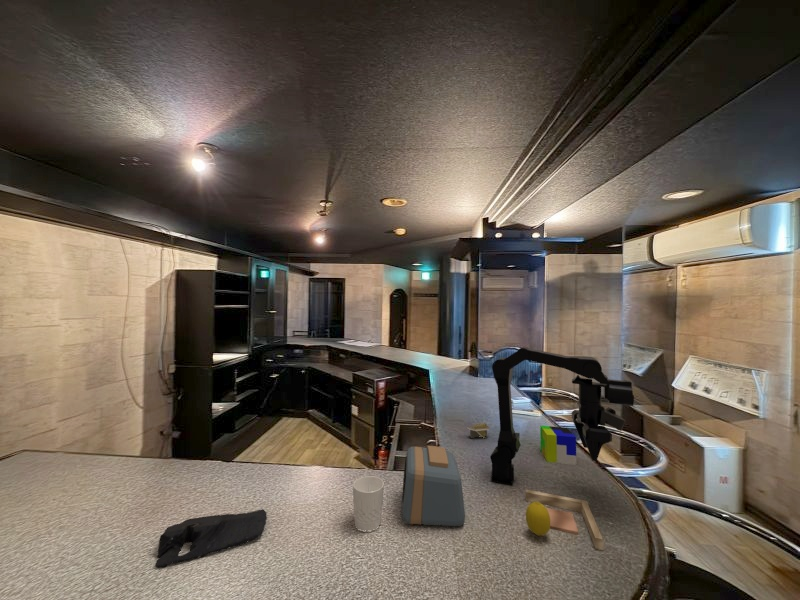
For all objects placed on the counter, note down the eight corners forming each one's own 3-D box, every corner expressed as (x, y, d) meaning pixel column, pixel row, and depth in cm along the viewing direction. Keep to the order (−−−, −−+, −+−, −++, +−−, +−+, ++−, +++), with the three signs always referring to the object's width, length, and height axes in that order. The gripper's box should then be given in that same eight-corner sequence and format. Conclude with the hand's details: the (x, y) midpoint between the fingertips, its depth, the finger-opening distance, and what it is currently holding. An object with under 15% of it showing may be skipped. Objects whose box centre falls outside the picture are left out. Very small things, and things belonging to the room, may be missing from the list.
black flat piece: (262, 550, 70) (263, 528, 70) (146, 574, 63) (147, 550, 64) (268, 510, 85) (269, 492, 85) (174, 526, 78) (175, 506, 78)
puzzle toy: (576, 465, 113) (576, 437, 114) (547, 462, 115) (546, 434, 116) (567, 453, 123) (567, 427, 124) (540, 450, 125) (540, 425, 126)
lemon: (526, 539, 74) (525, 505, 75) (525, 525, 79) (525, 493, 80) (551, 546, 72) (551, 511, 73) (549, 531, 77) (549, 498, 78)
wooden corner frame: (529, 533, 77) (529, 523, 77) (525, 498, 92) (525, 489, 92) (603, 550, 71) (602, 539, 71) (586, 510, 86) (586, 500, 87)
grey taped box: (403, 491, 94) (403, 438, 95) (456, 493, 94) (457, 439, 95) (401, 528, 78) (402, 463, 79) (466, 530, 77) (467, 465, 78)
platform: (505, 443, 133) (505, 427, 133) (466, 446, 129) (466, 430, 129) (491, 433, 145) (491, 418, 145) (455, 435, 141) (455, 420, 141)
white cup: (358, 538, 74) (359, 495, 74) (348, 519, 81) (349, 479, 81) (388, 528, 78) (388, 487, 78) (375, 510, 85) (376, 473, 85)
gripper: (634, 412, 80) (635, 474, 80) (610, 395, 98) (610, 445, 97) (586, 407, 84) (586, 466, 83) (571, 391, 101) (571, 440, 101)
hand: (589, 453), depth 91 cm, fingers open, 9 cm apart
